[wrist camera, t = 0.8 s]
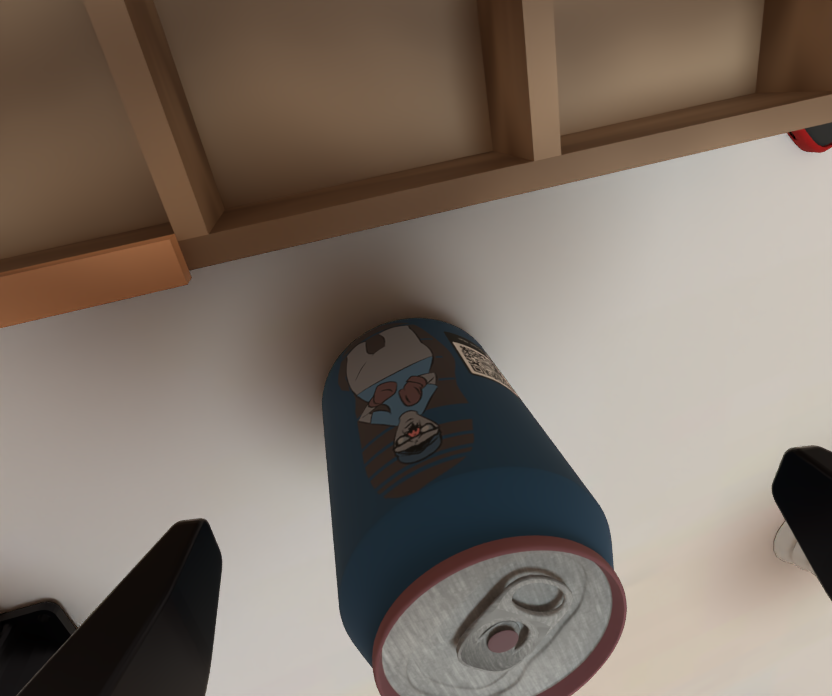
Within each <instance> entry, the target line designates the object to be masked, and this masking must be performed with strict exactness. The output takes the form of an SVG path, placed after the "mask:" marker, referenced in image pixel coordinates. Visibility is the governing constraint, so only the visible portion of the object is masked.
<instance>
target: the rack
mask: <svg viewBox="0 0 832 696" xmlns="http://www.w3.org/2000/svg"><path fill="white" fill-rule="evenodd" d="M830 122H832V0H0V328H3V327H8V326H12V325H16V324H20V323H25V322H29V321H33V320H38V319H42V318H46V317H50V316H55V315H59V314H63V313H68V312H72V311H76V310H80V309H85V308H89V307H93V306H98V305H102V304H106V303H110V302H115V301H119V300H123V299H128V298H132V297H136V296H140V295H145V294H149V293H153V292H158V291H162V290H166V289H170V288H175V287H179V286H183V285H188V283H189V281H190V280H191V278H192V277H191V275H190V272H189V270H193V269H198V268H202V267H206V266H211V265H215V264H219V263H224V262H228V261H232V260H237V259H241V258H245V257H250V256H254V255H258V254H263V253H267V252H271V251H276V250H280V249H284V248H289V247H293V246H297V245H302V244H306V243H310V242H315V241H319V240H323V239H328V238H332V237H336V236H341V235H345V234H349V233H354V232H358V231H362V230H367V229H371V228H375V227H380V226H384V225H388V224H393V223H397V222H401V221H406V220H410V219H414V218H419V217H423V216H427V215H432V214H436V213H440V212H445V211H449V210H453V209H458V208H462V207H466V206H471V205H475V204H479V203H484V202H488V201H492V200H497V199H501V198H505V197H510V196H514V195H518V194H523V193H527V192H531V191H536V190H540V189H544V188H549V187H553V186H557V185H562V184H566V183H570V182H575V181H579V180H583V179H588V178H592V177H596V176H601V175H605V174H609V173H614V172H618V171H622V170H627V169H631V168H635V167H640V166H644V165H648V164H653V163H657V162H661V161H666V160H670V159H674V158H679V157H683V156H687V155H692V154H696V153H700V152H705V151H709V150H713V149H718V148H722V147H726V146H731V145H735V144H739V143H744V142H748V141H752V140H757V139H761V138H765V137H770V136H774V135H778V134H783V133H787V132H791V131H796V130H800V129H804V128H809V127H813V126H817V125H822V124H826V123H830Z"/></svg>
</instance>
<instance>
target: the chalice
mask: <svg viewBox="0 0 832 696" xmlns="http://www.w3.org/2000/svg"><path fill="white" fill-rule="evenodd" d="M774 552H775V554H776V556H777V557H778V558H779V559H781V560H782V561H784V562H788V563H792V564H795V566H797V567H798V568H800V569H802V570H806V571H810V572H811V573H812V574H814V575H815V573H814V571H813V569H812V567H811V566H810V564H809V562H808V560H807V558H806V556H805V555H804V553H803V551H802V549H801V547H800V546H799V544H798V542H797V540H796V538H795V537H794V535H793V533H792V531H791V529H790V528H789V526H788V524H787V522H786V521H785V522H784V524H783V525H782V526H781V528H780V529H779V531H778V533H777V535H776V538H775V540H774ZM815 576H816V575H815Z"/></svg>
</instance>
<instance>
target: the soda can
mask: <svg viewBox="0 0 832 696" xmlns="http://www.w3.org/2000/svg"><path fill="white" fill-rule="evenodd" d="M322 412H323V424H324V436H325V447H326V459H327V471H328V482H329V494H330V506H331V517H332V529H333V541H334V552H335V564H336V576H337V587H338V599H339V610H340V615H341V619H342V622H343V625H344V627H345V630H346V632H347V634H348V635H349V637H350V639H351V640H352V642H353V643H354V645H355V646H356V647H357V649H358V650H359V651H360V653H361V654H362V655H363V657H364V658H365V659H366V660H367V662H368V663H369V664H370V666H371V667H372V668H373V673H374V679H375V682H376V685H377V688H378V690H379V693H380V695H381V696H571V695H572V694H574V693H575V692H576V691H577V690H579V689H580V688H581V687H582V686H583V685H584V684H585V683H587V682H588V681H589V680H590V679H591V678H592V677H593V676H594V675H595V674H596V672H597V671H598V670H599V669H600V668H601V667H602V666H603V664H604V663H605V662H606V660H607V659H608V658H609V656H610V655H611V653H612V652H613V650H614V649H615V647H616V645H617V643H618V641H619V639H620V637H621V634H622V631H623V628H624V625H625V620H626V612H627V605H626V597H625V592H624V589H623V586H622V584H621V582H620V579H619V578H618V576H617V574H616V573H615V571H614V566H613V553H612V541H611V535H610V529H609V525H608V522H607V519H606V517H605V515H604V512H603V510H602V509H601V507H600V505H599V504H598V503H597V501H596V500H595V499H594V497H593V496H592V495H591V493H590V492H589V490H588V489H587V488H586V486H585V485H584V484H583V482H582V481H581V480H580V478H579V477H578V476H577V474H576V473H575V472H574V470H573V469H572V468H571V466H570V465H569V464H568V462H567V461H566V460H565V458H564V457H563V455H562V454H561V453H560V451H559V450H558V449H557V447H556V446H555V445H554V443H553V442H552V441H551V439H550V438H549V437H548V435H547V434H546V433H545V431H544V430H543V429H542V427H541V426H540V425H539V423H538V422H537V420H536V419H535V418H534V416H533V415H532V414H531V412H530V411H529V410H528V408H527V407H526V406H525V404H524V403H523V402H522V400H521V399H520V398H519V396H518V395H517V394H516V392H515V391H514V390H513V388H512V387H511V385H510V384H509V383H508V381H507V380H506V379H505V377H504V376H503V375H502V373H501V372H500V371H499V369H498V368H497V367H496V365H495V364H494V363H493V361H492V360H491V359H490V357H489V356H488V355H487V353H486V352H485V350H484V349H483V348H482V346H481V345H480V344H479V343H478V342H477V341H476V340H475V339H474V338H473V337H472V336H470V335H469V334H468V333H466V332H465V331H463V330H462V329H460V328H458V327H456V326H454V325H451V324H449V323H446V322H442V321H438V320H434V319H426V318H409V319H401V320H396V321H392V322H389V323H385V324H383V325H380V326H378V327H376V328H373V329H372V330H370V331H368V332H366V333H365V334H363V335H361V336H360V337H359V338H357V339H356V340H355V341H354V342H352V343H351V344H350V345H349V346H348V347H347V348H346V349H345V350H344V351H343V352H342V354H341V355H340V356H339V357H338V359H337V360H336V362H335V363H334V365H333V367H332V368H331V370H330V372H329V374H328V377H327V380H326V383H325V386H324V391H323V397H322Z"/></svg>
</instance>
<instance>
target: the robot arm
mask: <svg viewBox="0 0 832 696" xmlns="http://www.w3.org/2000/svg"><path fill="white" fill-rule="evenodd" d="M772 494H773V497H774V500H775V502H776V504H777V506H778V508H779V509H780V511H781V513H782V515H783V517H784V518H785V520H786V522H787V524H788V526H789V528H790V529H791V531H792V533H793V535H794V537H795V538H796V540H797V542H798V544H799V546H800V547H801V549H802V551H803V553H804V555H805V556H806V558H807V560H808V562H809V564H810V566H811V567H812V569H813V571H814V573H815V575H816V576H817V578H818V580H819V581H820V583H821V585H822V587H823V588H824V590H825V592H826V593H827V595H828V596H829V598H830V599H831V601H832V452H831V451H829V450H827V449H824V448H822V447H819V446H813V445H811V446H802V447H794V448H790V449H788V450H787V451H786V452H785V453H784V455H783V458H782V460H781V463H780V465H779V468H778V470H777V473H776V475H775V478H774V480H773V483H772ZM221 573H222V556H221V552H220V549H219V547H218V544H217V542H216V539H215V537H214V535H213V532H212V530H211V527H210V525H209V523H208V521H207V520H205V519H202V518H199V519H190V520H182V521H179V522H177V523H175V524H174V525H173V526H172V527H171V528H170V529H169V530H168V531H167V532H166V533H165V534H164V535H163V537H162V538H161V539H160V540H159V541H158V542H157V543H156V544H155V545H154V546H153V547H152V548H151V550H150V551H149V552H148V553H147V554H146V555H145V556H144V557H143V558H142V559H141V560H140V561H139V563H138V564H137V565H136V566H135V567H134V568H133V569H132V570H131V571H130V572H129V573H128V575H127V576H126V577H125V578H124V579H123V580H122V581H121V582H120V583H119V584H118V585H117V586H116V588H115V589H114V590H113V591H112V592H111V593H110V594H109V595H108V596H107V597H106V598H105V600H104V601H103V602H102V603H101V604H100V605H99V606H98V607H97V608H96V609H95V610H94V611H93V613H92V614H91V615H90V616H89V617H88V618H87V619H86V620H85V621H84V622H83V623H82V625H81V626H80V627H79V628H78V629H77V630H76V629H75V627H74V626H73V624H72V623H71V622H70V620H69V619H68V618H67V616H66V615H65V613H64V612H63V611H62V609H61V608H60V607H59V606H58V605H57V604H55V603H52V602H43V603H39V604H36V605H32V606H29V607H25V608H22V609H18V610H15V611H11V612H8V613H4V614H1V615H0V696H205V693H206V689H207V684H208V679H209V673H210V667H211V659H212V652H213V643H214V634H215V626H216V617H217V608H218V600H219V591H220V582H221Z"/></svg>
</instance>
